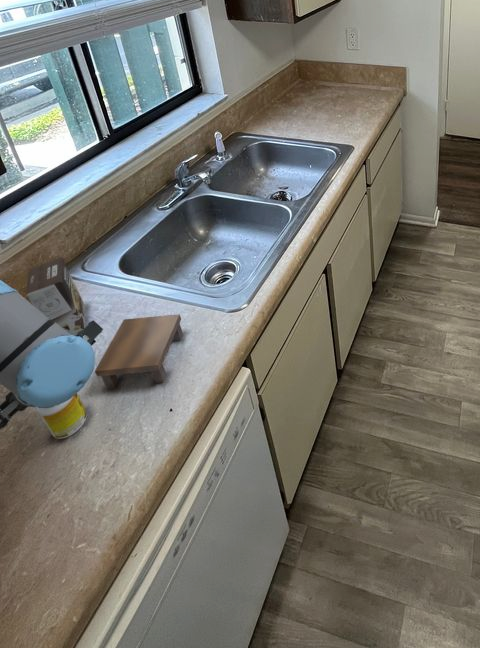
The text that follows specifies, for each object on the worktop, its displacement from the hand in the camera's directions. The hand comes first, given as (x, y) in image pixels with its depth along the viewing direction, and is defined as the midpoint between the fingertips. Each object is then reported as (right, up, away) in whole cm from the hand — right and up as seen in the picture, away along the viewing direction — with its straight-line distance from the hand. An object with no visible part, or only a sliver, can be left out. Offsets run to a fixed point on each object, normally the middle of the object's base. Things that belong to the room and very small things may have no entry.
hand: (35, 381), depth 76 cm
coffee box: (-14, -4, +26) cm, 30 cm away
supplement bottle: (+1, -13, +7) cm, 14 cm away
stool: (+9, -7, +18) cm, 21 cm away
